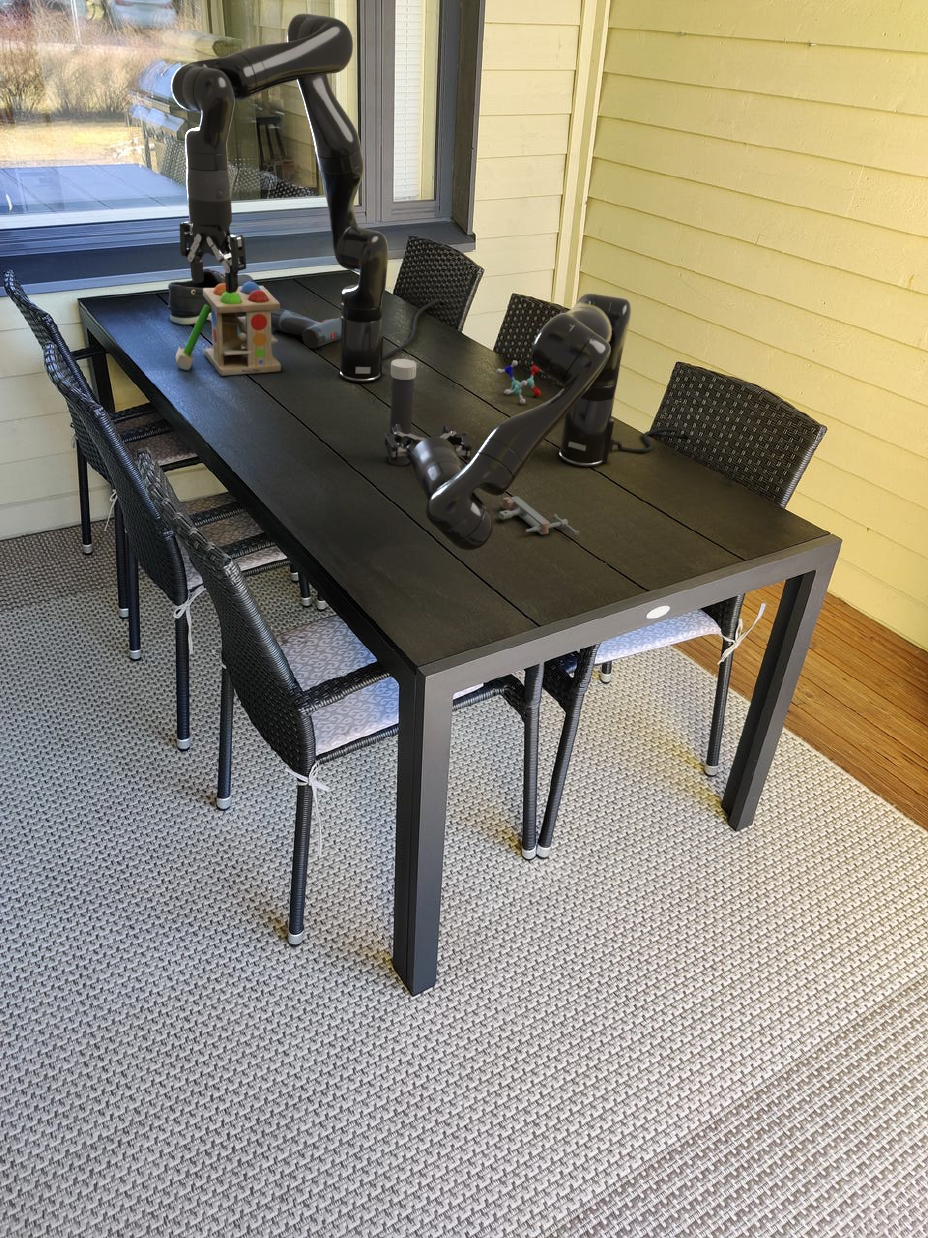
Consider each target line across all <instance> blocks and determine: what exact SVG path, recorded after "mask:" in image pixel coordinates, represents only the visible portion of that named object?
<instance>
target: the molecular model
mask: <svg viewBox="0 0 928 1238" xmlns="http://www.w3.org/2000/svg"><path fill="white" fill-rule="evenodd" d="M516 366H518V361H517V360H512V362H511V365H510V366H509V365H508V366H506V367H505V368H503V369H502V368H496V373H497V374H498V375H501V374H502V373H506V374H507V375H509V376H510V379H511V381H512V382H511V387H510V388H507V389H505V390H504V394H505V396H506V395H507V396H508V395H511V394H513V393H514V395H516V396H518V398H519V403H520V404H521V405H524V404H525V403H526V399H525V398H524V397H523V396H522V391H523V390H522V389H523V388H524V387H526V386H527V387H530V389H531V390H532V392H533V395H534V396H535V397H540V396H541V394H542V392H541V390H540V389H538V388H537V386H536V384H535V381H534V376H535V374H536V373H537V372H541V373H542V374H545V373H544V372H542V371H541V370H539V369H538V368H537V367H536V366H535V365H533V366H531V368H530V371H531V374H530V377H529V378H527V380H521V382H520V381H519V380H516V379H515V376H514V375H513V371H514V367H516Z"/></svg>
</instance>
